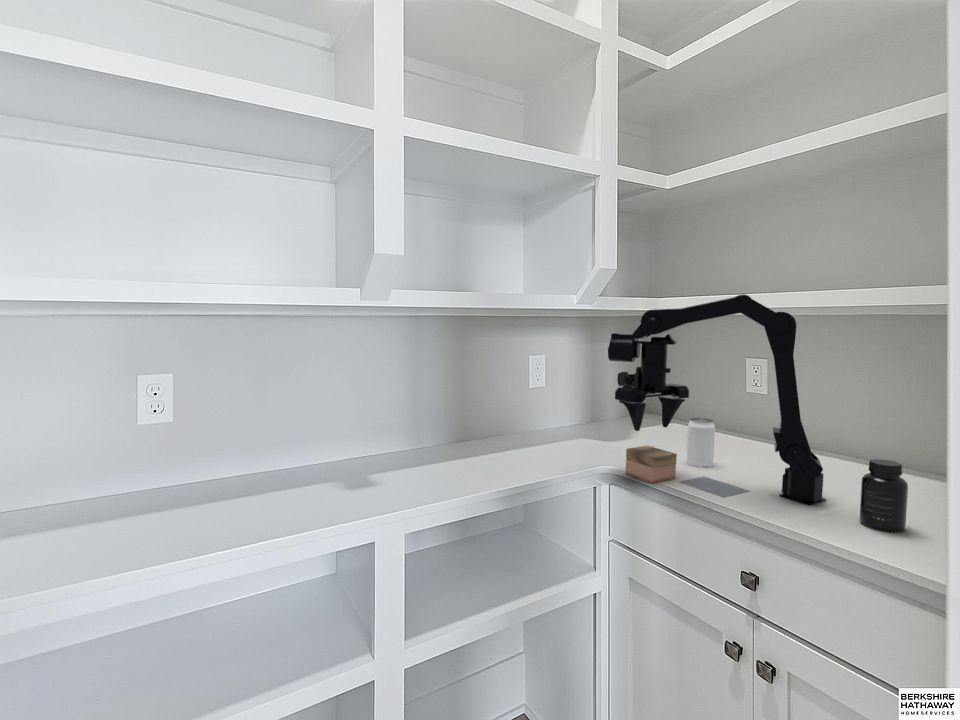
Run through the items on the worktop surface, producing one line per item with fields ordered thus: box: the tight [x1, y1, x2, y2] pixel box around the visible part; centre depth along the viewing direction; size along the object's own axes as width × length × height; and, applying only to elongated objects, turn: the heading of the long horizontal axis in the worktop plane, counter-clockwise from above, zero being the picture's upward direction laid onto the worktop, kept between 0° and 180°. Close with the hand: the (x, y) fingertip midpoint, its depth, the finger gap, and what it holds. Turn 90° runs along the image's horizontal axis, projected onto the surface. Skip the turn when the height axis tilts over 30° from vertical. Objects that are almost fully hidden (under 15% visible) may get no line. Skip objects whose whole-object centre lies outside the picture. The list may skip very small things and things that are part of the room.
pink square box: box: [625, 458, 677, 485], centre depth 125 cm, size 8×8×4 cm
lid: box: [625, 445, 677, 468], centre depth 125 cm, size 9×7×2 cm
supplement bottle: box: [859, 458, 909, 533], centre depth 97 cm, size 7×7×12 cm
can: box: [685, 417, 716, 468], centre depth 136 cm, size 6×6×12 cm
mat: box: [678, 476, 751, 499], centre depth 118 cm, size 12×9×1 cm
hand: (651, 428), depth 125 cm, fingers open, 9 cm apart
